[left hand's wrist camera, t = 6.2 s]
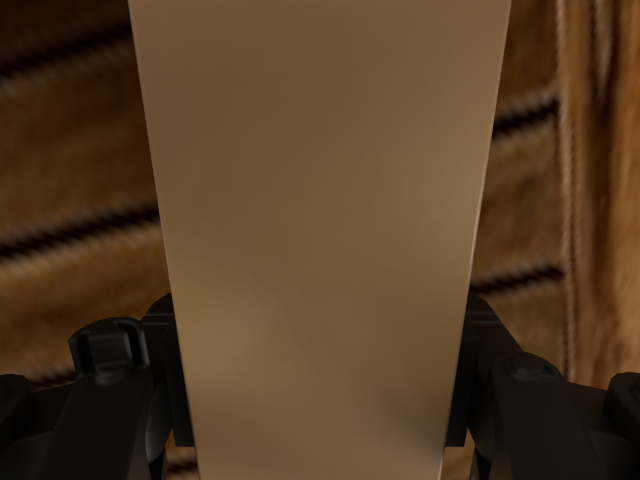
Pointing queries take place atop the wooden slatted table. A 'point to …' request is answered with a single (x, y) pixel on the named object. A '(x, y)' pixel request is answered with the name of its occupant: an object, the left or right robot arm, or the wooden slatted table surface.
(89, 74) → the wooden slatted table surface
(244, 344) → the bar
